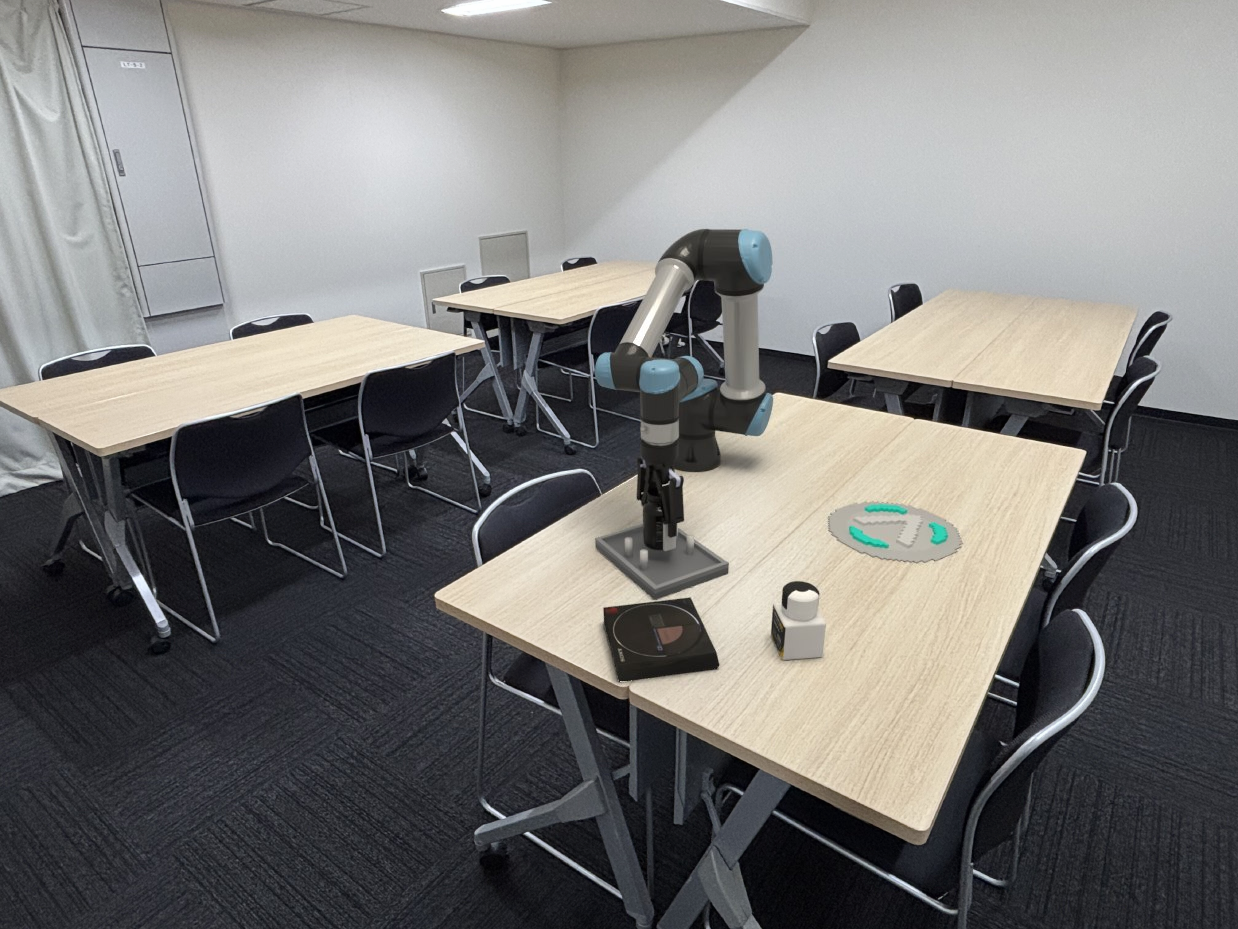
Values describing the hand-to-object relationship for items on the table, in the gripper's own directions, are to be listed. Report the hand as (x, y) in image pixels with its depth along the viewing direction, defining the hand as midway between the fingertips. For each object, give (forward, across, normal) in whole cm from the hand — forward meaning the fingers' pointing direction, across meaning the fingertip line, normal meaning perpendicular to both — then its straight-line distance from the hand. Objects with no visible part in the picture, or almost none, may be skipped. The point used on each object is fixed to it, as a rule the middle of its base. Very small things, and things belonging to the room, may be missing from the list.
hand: (659, 541), depth 149 cm
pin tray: (+5, 0, 0) cm, 5 cm away
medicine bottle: (+5, +37, +4) cm, 38 cm away
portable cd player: (+6, +24, -16) cm, 29 cm away
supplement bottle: (+1, 0, 0) cm, 1 cm away
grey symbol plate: (+5, +17, +52) cm, 55 cm away
